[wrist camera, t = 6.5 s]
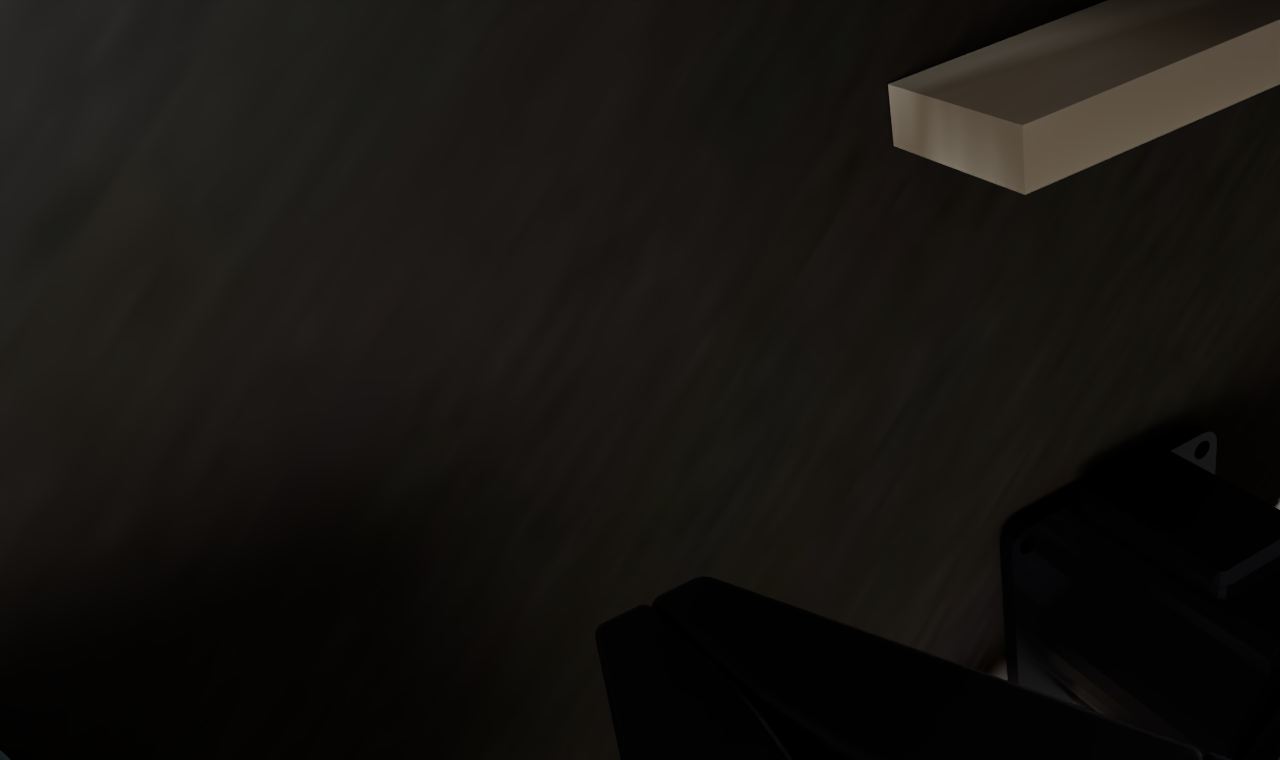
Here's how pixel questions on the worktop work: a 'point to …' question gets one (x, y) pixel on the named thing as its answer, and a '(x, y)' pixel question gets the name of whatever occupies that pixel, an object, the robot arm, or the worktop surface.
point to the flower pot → (3, 756)
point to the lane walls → (1086, 87)
